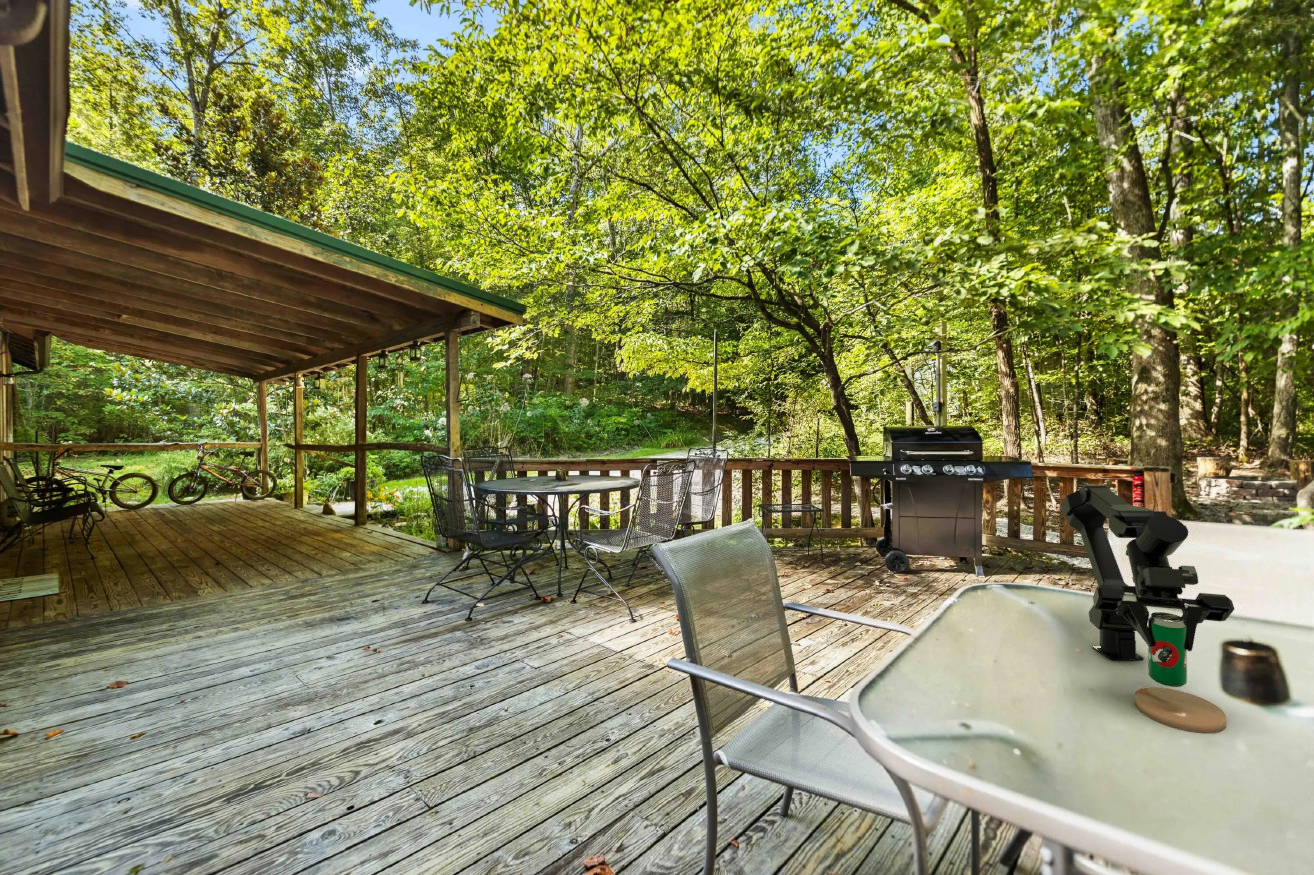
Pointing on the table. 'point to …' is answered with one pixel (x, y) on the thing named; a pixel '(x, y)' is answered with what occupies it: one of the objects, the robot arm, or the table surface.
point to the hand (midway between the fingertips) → (1170, 648)
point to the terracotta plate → (1180, 710)
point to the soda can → (1168, 649)
